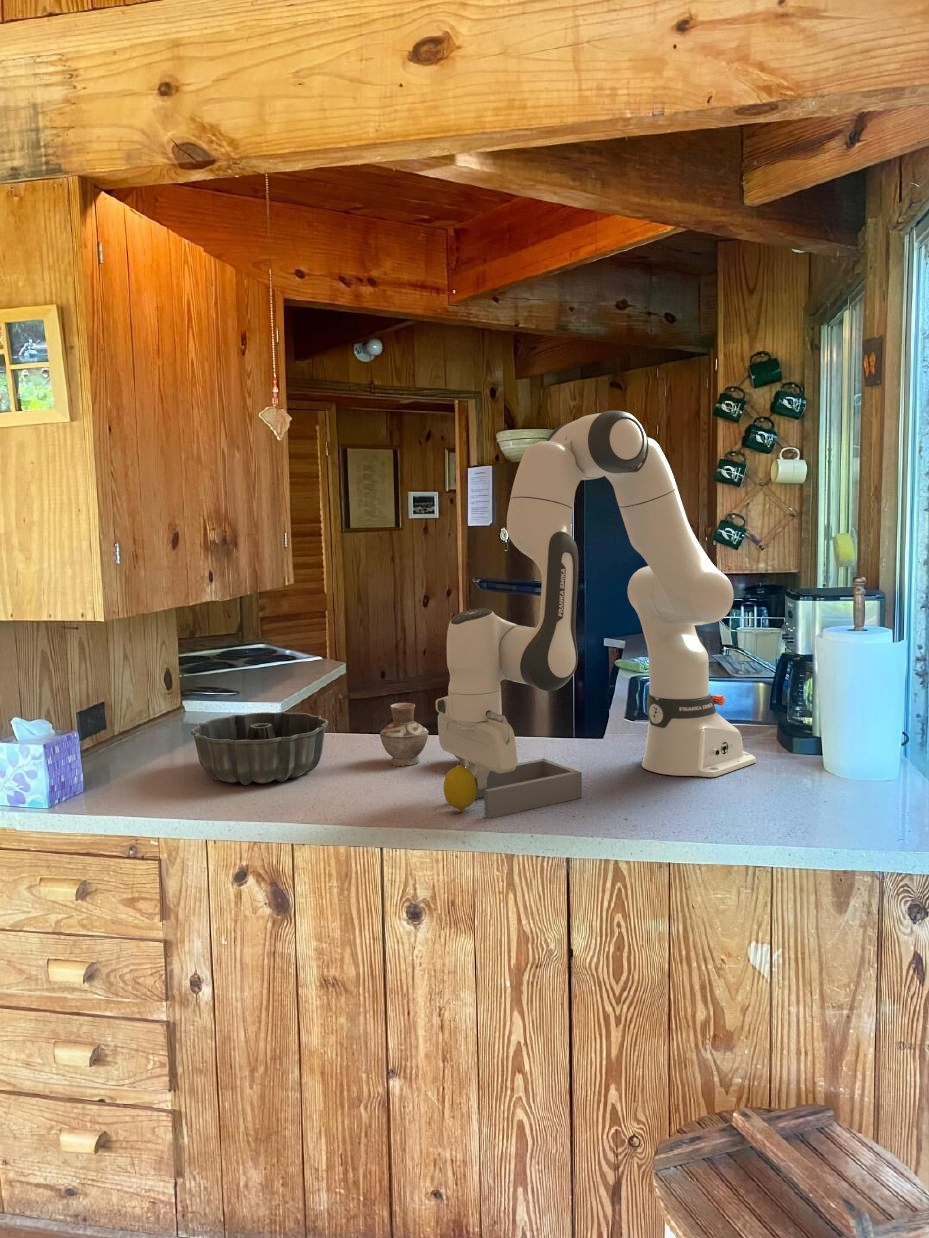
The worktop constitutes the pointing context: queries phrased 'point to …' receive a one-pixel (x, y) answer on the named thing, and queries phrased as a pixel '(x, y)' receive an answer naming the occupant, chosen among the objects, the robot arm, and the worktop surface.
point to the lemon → (460, 787)
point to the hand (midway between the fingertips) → (478, 786)
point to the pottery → (405, 736)
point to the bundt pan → (260, 746)
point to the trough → (529, 787)
